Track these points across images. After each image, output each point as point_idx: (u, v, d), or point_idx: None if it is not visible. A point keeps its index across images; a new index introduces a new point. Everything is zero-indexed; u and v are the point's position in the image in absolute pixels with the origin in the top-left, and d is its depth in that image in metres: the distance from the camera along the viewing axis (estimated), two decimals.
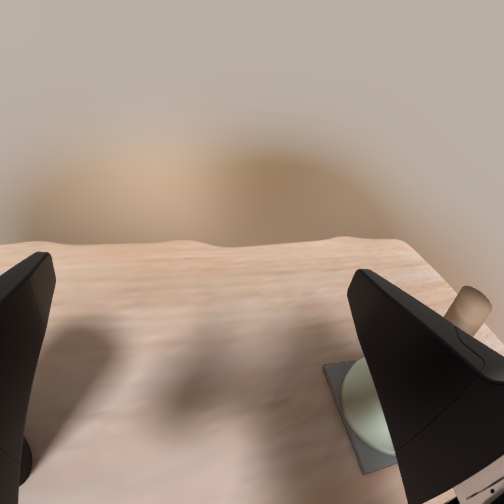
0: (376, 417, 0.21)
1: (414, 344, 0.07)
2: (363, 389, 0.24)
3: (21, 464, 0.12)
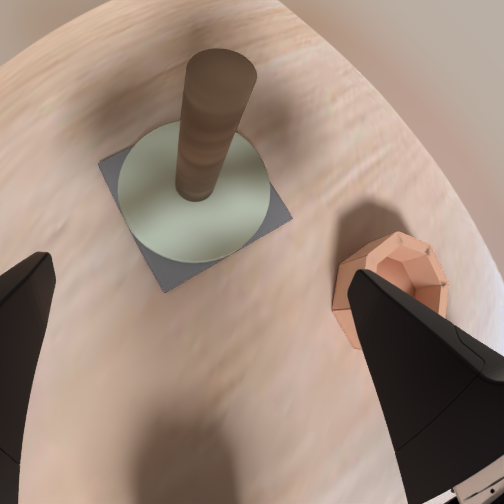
0: (161, 219, 0.21)
1: (414, 344, 0.07)
2: (141, 185, 0.21)
3: None
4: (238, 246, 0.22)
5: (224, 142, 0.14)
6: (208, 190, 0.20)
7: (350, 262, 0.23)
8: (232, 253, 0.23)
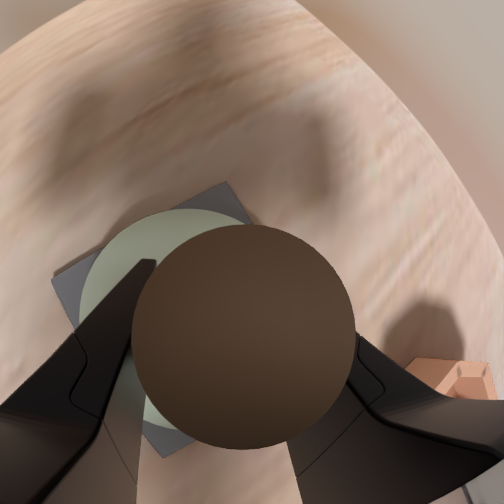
0: None
1: None
2: None
3: None
4: None
5: None
6: None
7: None
8: None
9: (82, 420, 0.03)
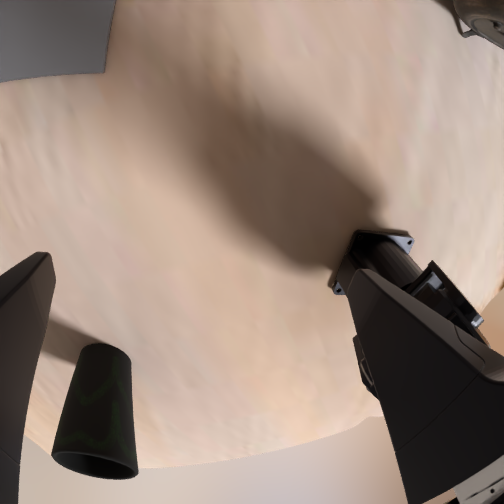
0: None
1: (414, 344, 0.07)
2: None
3: (104, 358, 0.26)
4: None
5: None
6: None
7: None
8: None
9: None
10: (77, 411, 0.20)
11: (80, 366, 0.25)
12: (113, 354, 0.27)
